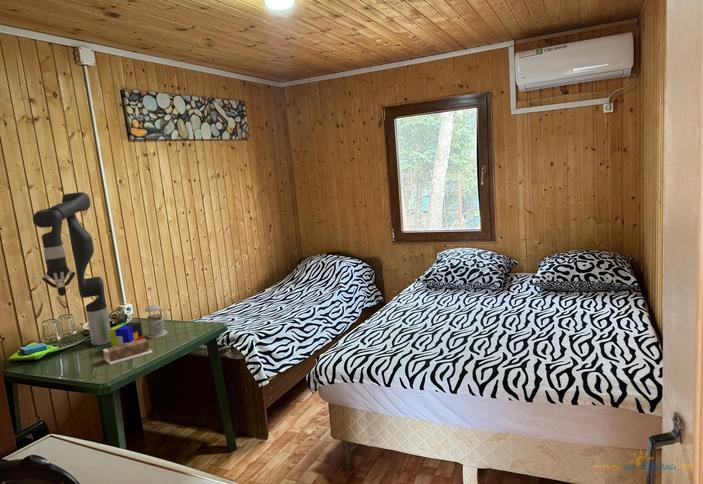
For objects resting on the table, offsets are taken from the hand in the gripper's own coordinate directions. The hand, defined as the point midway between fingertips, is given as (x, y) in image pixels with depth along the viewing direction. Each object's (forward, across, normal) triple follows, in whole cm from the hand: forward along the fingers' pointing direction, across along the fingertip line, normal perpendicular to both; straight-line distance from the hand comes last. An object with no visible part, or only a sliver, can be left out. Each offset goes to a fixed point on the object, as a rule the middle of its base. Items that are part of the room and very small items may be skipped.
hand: (62, 295), depth 209 cm
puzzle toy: (+32, -23, -7) cm, 40 cm away
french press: (+32, -39, -13) cm, 52 cm away
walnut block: (+29, -11, +9) cm, 32 cm away
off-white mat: (+31, -21, +8) cm, 39 cm away
